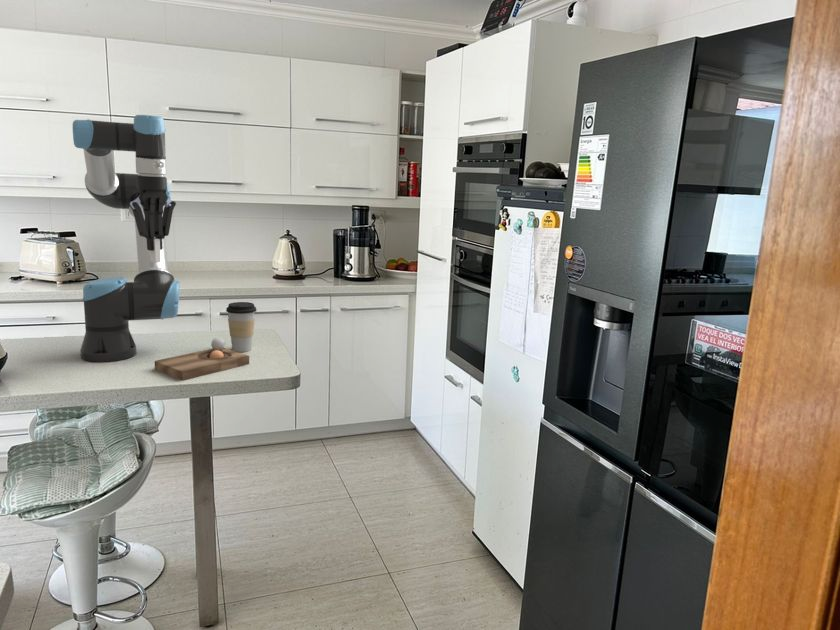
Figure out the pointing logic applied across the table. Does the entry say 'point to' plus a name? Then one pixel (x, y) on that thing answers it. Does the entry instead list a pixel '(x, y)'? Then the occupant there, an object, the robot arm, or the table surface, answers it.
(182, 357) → the brown wooden board
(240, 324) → the coffee cup
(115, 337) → the robot arm
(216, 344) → the grey ball
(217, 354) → the ball
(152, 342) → the table surface
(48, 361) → the table surface
